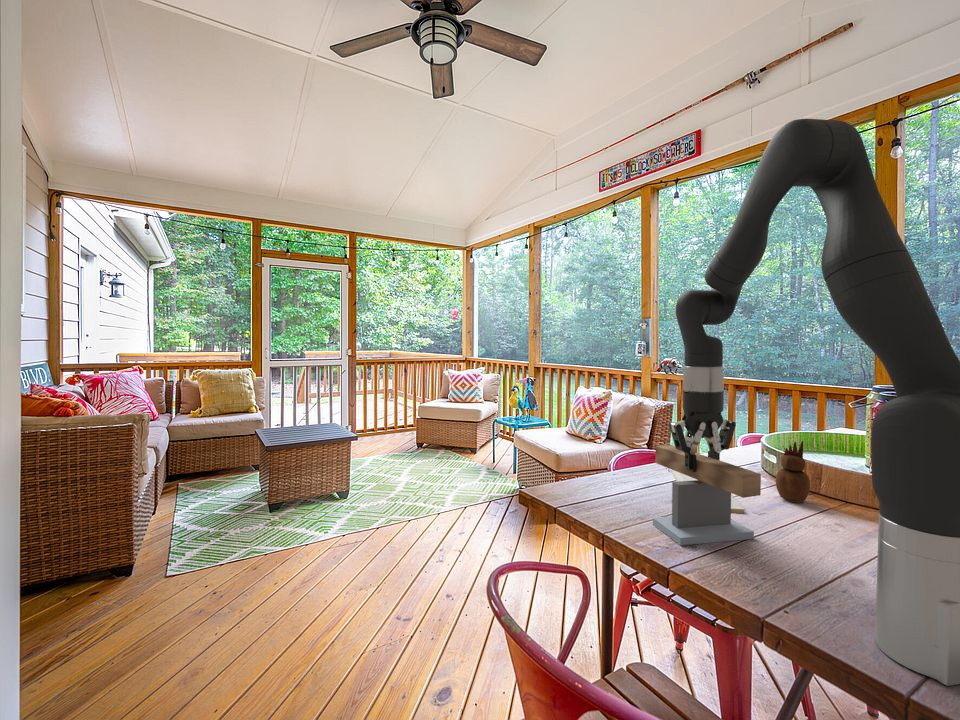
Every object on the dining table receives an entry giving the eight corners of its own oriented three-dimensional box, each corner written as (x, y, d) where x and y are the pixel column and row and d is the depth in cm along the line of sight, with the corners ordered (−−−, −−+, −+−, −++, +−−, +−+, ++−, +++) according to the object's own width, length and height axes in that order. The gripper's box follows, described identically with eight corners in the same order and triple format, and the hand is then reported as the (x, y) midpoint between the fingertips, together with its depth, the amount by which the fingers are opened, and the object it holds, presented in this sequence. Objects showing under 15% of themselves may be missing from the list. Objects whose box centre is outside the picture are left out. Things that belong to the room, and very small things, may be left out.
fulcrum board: (753, 538, 90) (754, 487, 89) (680, 545, 87) (680, 492, 87) (719, 518, 99) (720, 472, 99) (652, 524, 97) (653, 476, 97)
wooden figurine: (814, 503, 108) (815, 441, 107) (798, 506, 106) (799, 443, 105) (786, 494, 114) (787, 436, 114) (770, 497, 112) (771, 438, 112)
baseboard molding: (687, 511, 105) (744, 516, 103) (688, 499, 105) (744, 503, 103) (665, 472, 136) (708, 475, 133) (665, 463, 135) (708, 465, 133)
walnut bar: (655, 463, 104) (655, 445, 104) (670, 461, 105) (670, 444, 105) (743, 497, 81) (743, 475, 81) (760, 495, 82) (760, 473, 82)
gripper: (721, 385, 97) (720, 463, 97) (660, 387, 94) (660, 467, 95) (747, 389, 89) (746, 474, 90) (681, 391, 87) (681, 478, 88)
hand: (701, 470), depth 93 cm, fingers closed on walnut bar, 4 cm apart
